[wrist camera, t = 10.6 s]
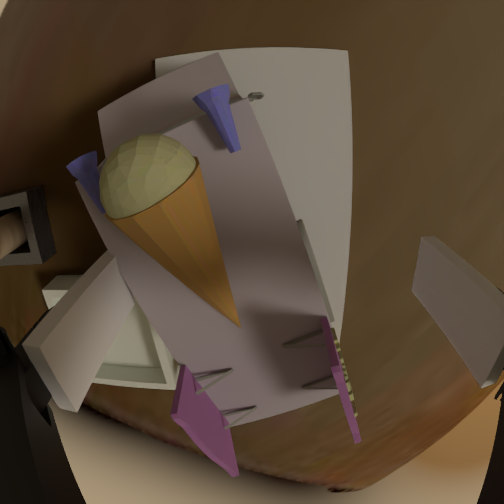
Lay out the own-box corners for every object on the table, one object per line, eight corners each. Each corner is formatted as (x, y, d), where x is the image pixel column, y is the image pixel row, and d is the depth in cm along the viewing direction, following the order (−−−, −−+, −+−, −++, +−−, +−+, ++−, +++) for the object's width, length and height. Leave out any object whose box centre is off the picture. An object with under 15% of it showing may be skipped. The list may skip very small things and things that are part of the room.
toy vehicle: (232, 63, 19) (228, -56, 5) (321, 294, 25) (390, 440, 11) (116, 117, 19) (-36, 112, 5) (220, 331, 26) (214, 488, 12)
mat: (156, 60, 19) (155, 59, 18) (346, 51, 18) (347, 50, 18) (193, 354, 28) (192, 357, 28) (337, 347, 28) (338, 349, 28)
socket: (-1, 195, 22) (-17, 202, 20) (42, 185, 22) (26, 191, 20) (13, 255, 24) (-1, 265, 22) (56, 252, 24) (42, 263, 22)
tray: (57, 275, 25) (41, 289, 22) (160, 272, 25) (150, 289, 22) (90, 362, 29) (80, 380, 26) (182, 368, 29) (176, 389, 26)
